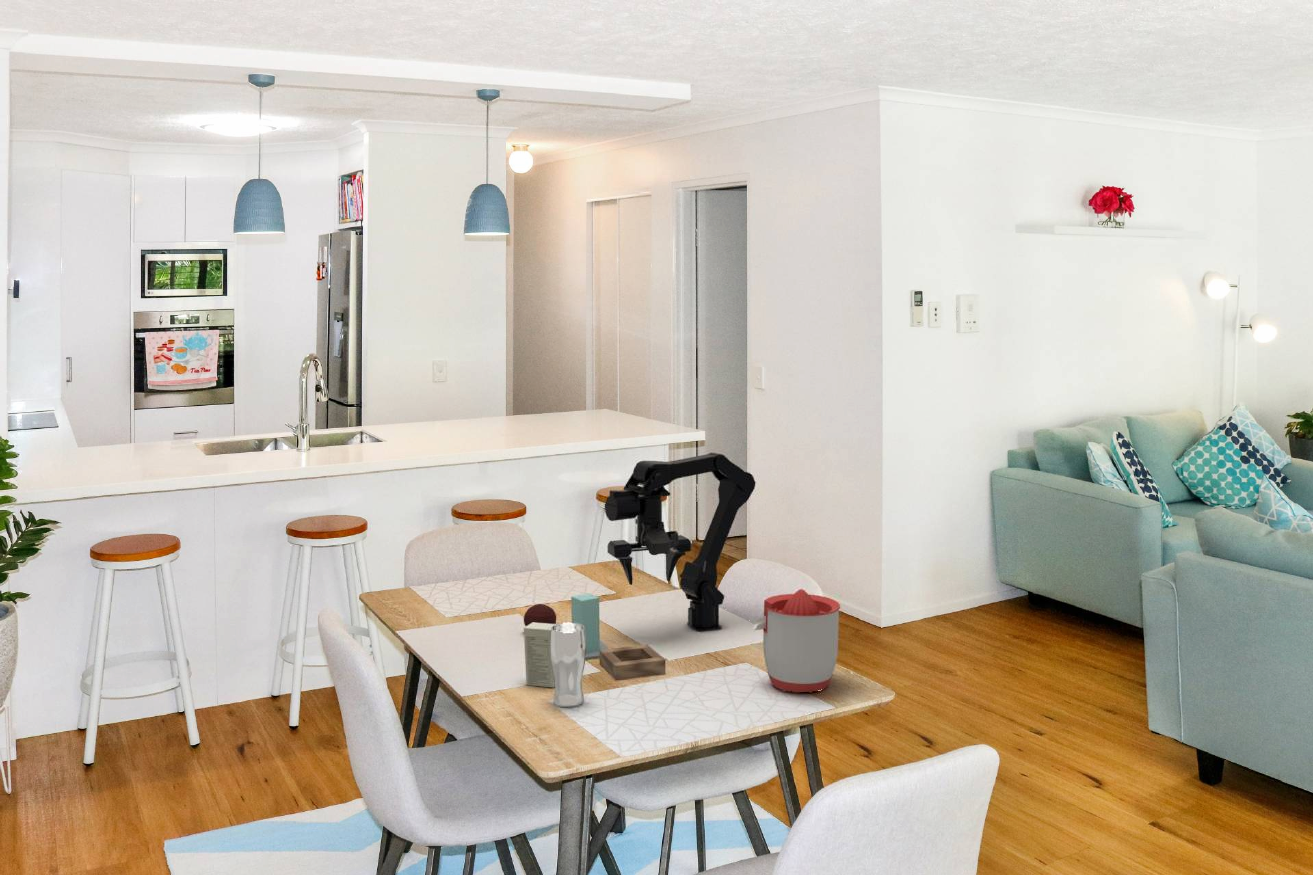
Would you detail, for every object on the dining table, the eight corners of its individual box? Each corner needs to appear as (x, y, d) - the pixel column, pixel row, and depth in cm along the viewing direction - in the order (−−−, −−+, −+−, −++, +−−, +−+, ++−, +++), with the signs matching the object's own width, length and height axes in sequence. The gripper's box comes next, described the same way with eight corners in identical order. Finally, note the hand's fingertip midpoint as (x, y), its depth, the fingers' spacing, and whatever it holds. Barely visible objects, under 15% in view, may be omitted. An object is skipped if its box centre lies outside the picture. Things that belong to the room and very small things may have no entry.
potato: (551, 639, 256) (551, 609, 255) (519, 637, 257) (519, 607, 256) (560, 629, 263) (560, 600, 262) (529, 627, 264) (529, 599, 263)
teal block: (589, 644, 249) (588, 593, 248) (599, 650, 246) (599, 597, 244) (571, 648, 247) (571, 596, 245) (582, 653, 243) (581, 600, 242)
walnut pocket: (647, 657, 242) (647, 644, 242) (665, 673, 232) (665, 659, 232) (599, 663, 239) (599, 650, 238) (615, 679, 228) (615, 665, 228)
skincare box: (561, 681, 228) (561, 623, 226) (553, 688, 223) (552, 629, 222) (533, 678, 230) (532, 620, 228) (524, 684, 226) (523, 626, 224)
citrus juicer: (750, 671, 234) (751, 578, 231) (833, 671, 233) (835, 579, 231) (755, 697, 218) (756, 599, 216) (843, 698, 218) (845, 599, 215)
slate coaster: (600, 642, 253) (600, 640, 253) (614, 656, 243) (614, 653, 243) (558, 647, 249) (558, 645, 249) (570, 661, 240) (570, 658, 240)
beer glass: (551, 696, 219) (549, 622, 217) (586, 694, 220) (585, 621, 218) (550, 708, 212) (549, 633, 210) (586, 707, 213) (586, 632, 211)
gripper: (622, 526, 242) (622, 595, 244) (700, 520, 249) (700, 587, 251) (606, 516, 253) (606, 583, 255) (682, 511, 259) (682, 576, 261)
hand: (649, 582), depth 255 cm, fingers open, 9 cm apart
